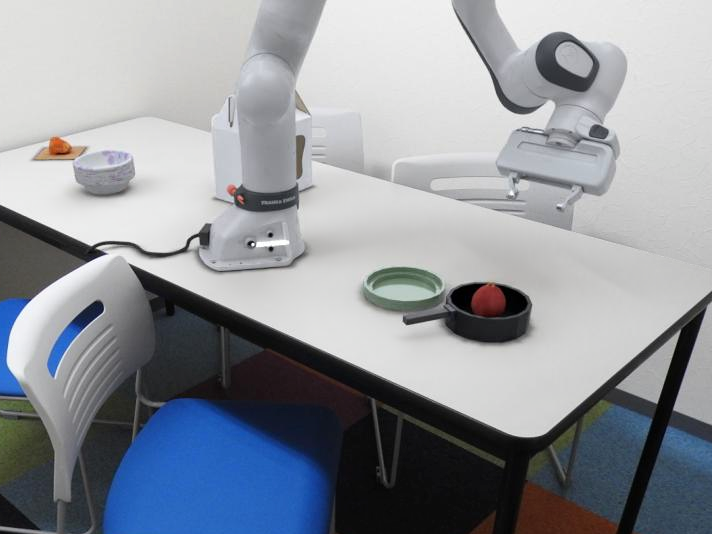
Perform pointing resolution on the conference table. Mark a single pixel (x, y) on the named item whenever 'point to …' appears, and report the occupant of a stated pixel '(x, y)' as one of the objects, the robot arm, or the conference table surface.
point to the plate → (404, 287)
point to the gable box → (230, 148)
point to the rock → (60, 150)
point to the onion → (488, 301)
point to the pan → (478, 327)
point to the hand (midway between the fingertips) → (535, 204)
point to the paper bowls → (104, 171)
